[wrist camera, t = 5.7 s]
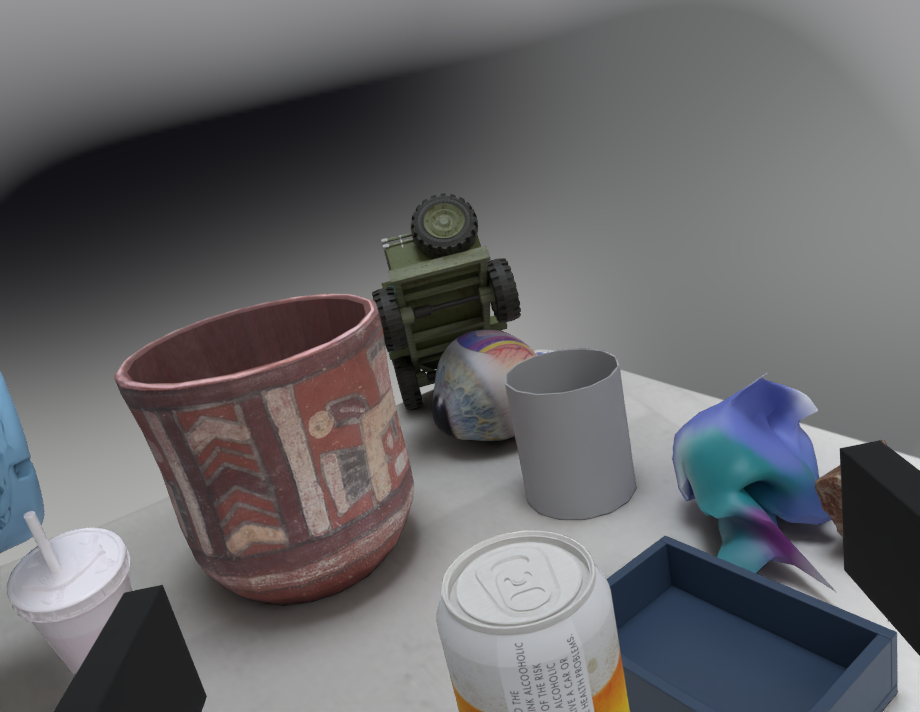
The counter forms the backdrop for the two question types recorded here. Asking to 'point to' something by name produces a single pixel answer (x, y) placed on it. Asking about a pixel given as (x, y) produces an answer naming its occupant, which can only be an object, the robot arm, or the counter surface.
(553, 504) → the cup
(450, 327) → the toy jeep
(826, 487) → the stone
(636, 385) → the counter surface
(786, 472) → the figurine
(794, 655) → the bin
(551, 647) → the beer can
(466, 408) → the anatomical model
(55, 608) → the smoothie
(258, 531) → the pottery
